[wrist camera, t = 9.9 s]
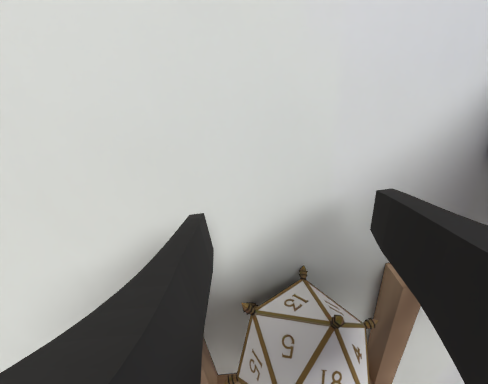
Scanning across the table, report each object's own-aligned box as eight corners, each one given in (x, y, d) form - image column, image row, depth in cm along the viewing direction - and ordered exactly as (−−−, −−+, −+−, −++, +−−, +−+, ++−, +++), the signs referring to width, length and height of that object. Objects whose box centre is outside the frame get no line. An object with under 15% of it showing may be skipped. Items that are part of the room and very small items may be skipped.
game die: (300, 245, 21) (446, 321, 13) (277, 335, 22) (399, 452, 14) (209, 255, 15) (374, 400, 7) (184, 375, 16) (305, 609, 8)
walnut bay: (408, 260, 17) (428, 285, 15) (377, 367, 24) (388, 392, 22) (163, 288, 17) (155, 315, 15) (205, 384, 24) (203, 409, 23)
